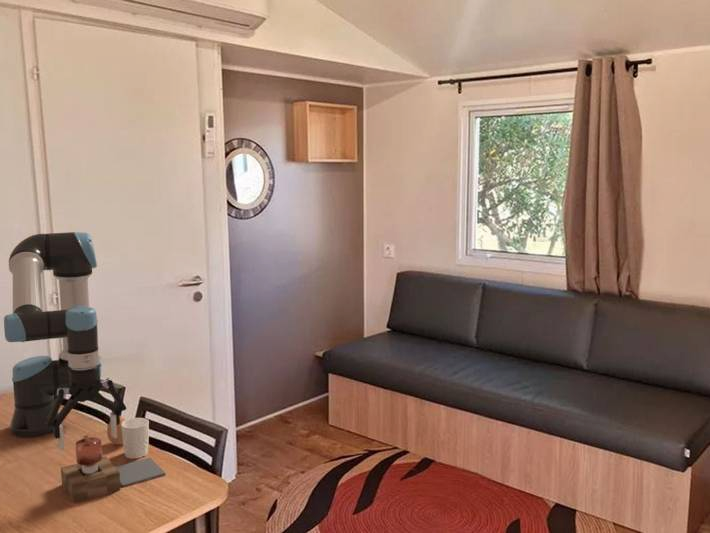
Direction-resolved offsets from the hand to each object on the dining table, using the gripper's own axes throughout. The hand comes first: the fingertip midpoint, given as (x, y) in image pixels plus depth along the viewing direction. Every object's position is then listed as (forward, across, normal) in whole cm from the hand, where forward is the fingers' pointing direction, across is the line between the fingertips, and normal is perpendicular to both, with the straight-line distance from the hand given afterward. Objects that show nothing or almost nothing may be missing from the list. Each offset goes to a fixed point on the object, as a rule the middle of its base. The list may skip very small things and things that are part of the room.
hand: (88, 442), depth 178 cm
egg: (+13, +15, +24) cm, 31 cm away
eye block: (+13, 0, 0) cm, 13 cm away
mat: (+13, +13, +2) cm, 18 cm away
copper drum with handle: (+13, 0, 0) cm, 13 cm away
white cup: (+13, +17, +14) cm, 25 cm away
